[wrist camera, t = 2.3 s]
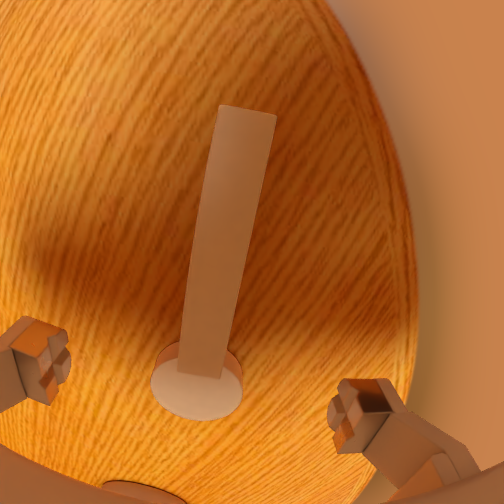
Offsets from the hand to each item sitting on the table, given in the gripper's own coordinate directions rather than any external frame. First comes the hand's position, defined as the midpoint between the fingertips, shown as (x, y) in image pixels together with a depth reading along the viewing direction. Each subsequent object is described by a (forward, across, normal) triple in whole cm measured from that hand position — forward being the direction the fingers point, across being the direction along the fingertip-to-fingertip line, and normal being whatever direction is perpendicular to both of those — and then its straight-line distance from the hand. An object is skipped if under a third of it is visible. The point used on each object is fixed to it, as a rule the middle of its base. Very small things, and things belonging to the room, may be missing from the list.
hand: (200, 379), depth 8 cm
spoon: (+5, 0, 0) cm, 5 cm away
